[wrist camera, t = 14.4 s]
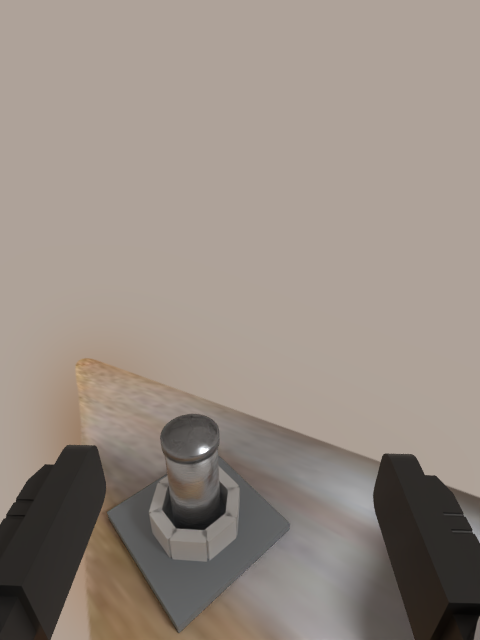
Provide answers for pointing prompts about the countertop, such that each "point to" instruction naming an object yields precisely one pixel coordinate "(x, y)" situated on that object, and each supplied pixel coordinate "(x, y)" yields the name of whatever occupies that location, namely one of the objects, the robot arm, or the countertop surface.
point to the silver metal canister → (192, 470)
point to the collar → (196, 543)
